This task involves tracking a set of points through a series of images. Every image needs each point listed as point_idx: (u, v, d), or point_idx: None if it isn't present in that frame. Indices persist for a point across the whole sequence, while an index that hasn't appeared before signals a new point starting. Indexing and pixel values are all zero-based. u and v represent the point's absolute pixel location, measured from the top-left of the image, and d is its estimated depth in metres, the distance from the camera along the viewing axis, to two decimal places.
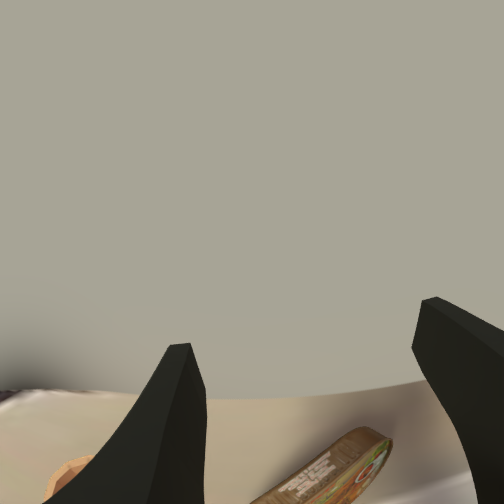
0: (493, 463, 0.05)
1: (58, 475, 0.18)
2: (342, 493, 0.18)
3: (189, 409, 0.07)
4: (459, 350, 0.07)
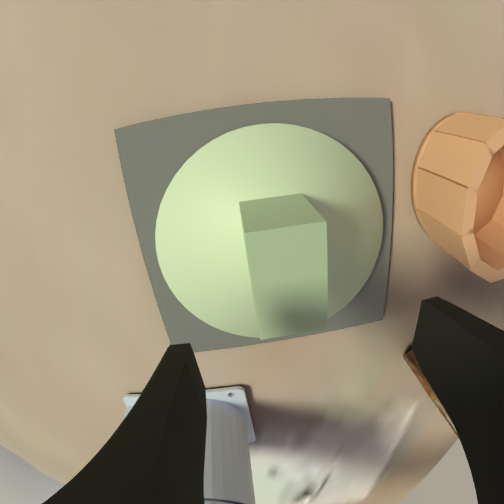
0: (493, 463, 0.05)
1: None
2: None
3: (189, 409, 0.07)
4: (459, 350, 0.07)
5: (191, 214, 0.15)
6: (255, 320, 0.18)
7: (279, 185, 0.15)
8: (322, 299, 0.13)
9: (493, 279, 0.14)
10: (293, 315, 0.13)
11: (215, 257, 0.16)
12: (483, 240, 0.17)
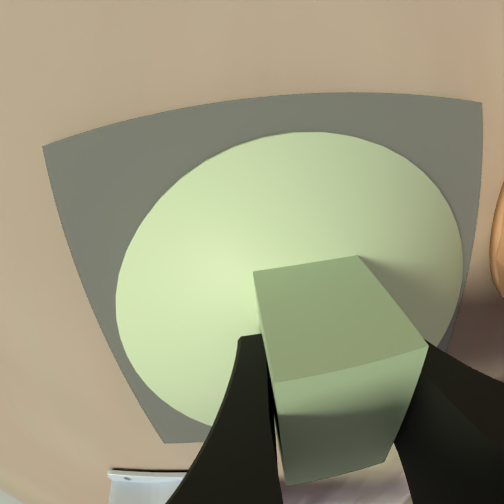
0: (430, 497, 0.05)
1: None
2: None
3: (270, 400, 0.07)
4: None
5: (171, 291, 0.09)
6: None
7: (323, 243, 0.09)
8: (388, 439, 0.07)
9: None
10: (340, 462, 0.07)
11: (213, 351, 0.10)
12: None
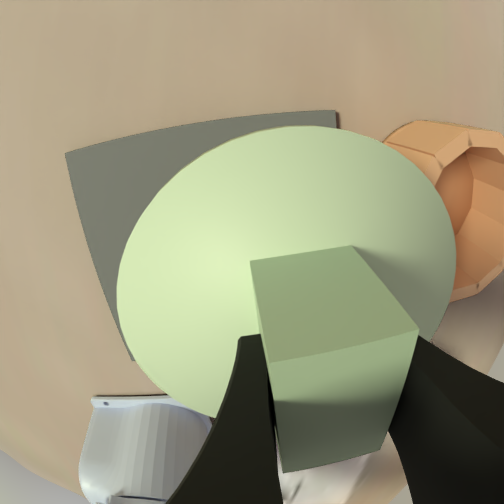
0: (430, 497, 0.05)
1: (503, 148, 0.11)
2: None
3: (270, 400, 0.07)
4: None
5: (171, 280, 0.09)
6: None
7: (318, 233, 0.09)
8: (383, 425, 0.07)
9: (450, 299, 0.14)
10: (336, 448, 0.07)
11: (211, 340, 0.10)
12: None
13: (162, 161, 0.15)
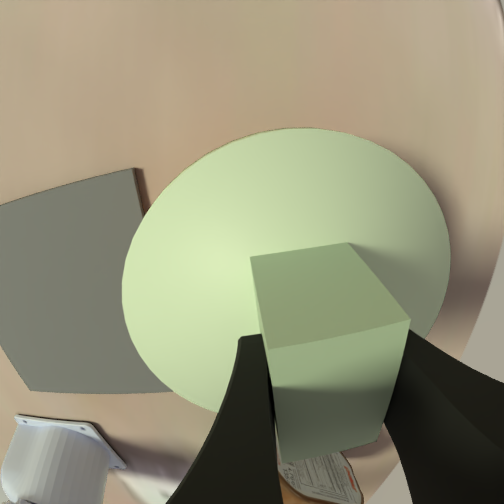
0: (429, 497, 0.05)
1: None
2: None
3: (270, 400, 0.07)
4: None
5: (174, 275, 0.09)
6: None
7: (315, 230, 0.09)
8: (378, 415, 0.07)
9: None
10: (333, 437, 0.08)
11: (213, 334, 0.11)
12: None
13: (2, 234, 0.14)
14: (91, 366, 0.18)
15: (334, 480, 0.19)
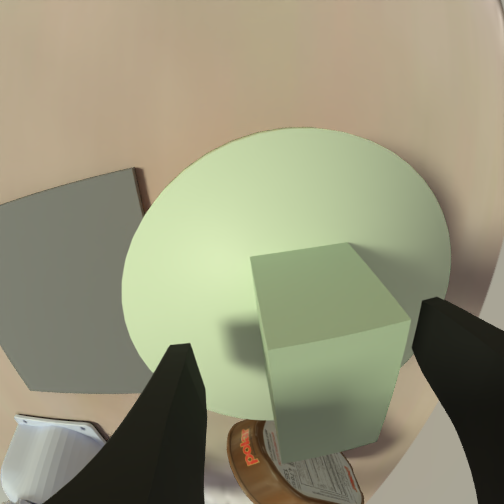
0: (493, 463, 0.05)
1: None
2: None
3: (189, 409, 0.07)
4: (459, 350, 0.07)
5: (174, 275, 0.09)
6: (269, 404, 0.12)
7: (315, 230, 0.09)
8: (379, 416, 0.07)
9: None
10: (333, 438, 0.08)
11: (213, 334, 0.10)
12: None
13: (2, 234, 0.13)
14: (91, 366, 0.18)
15: (335, 480, 0.19)
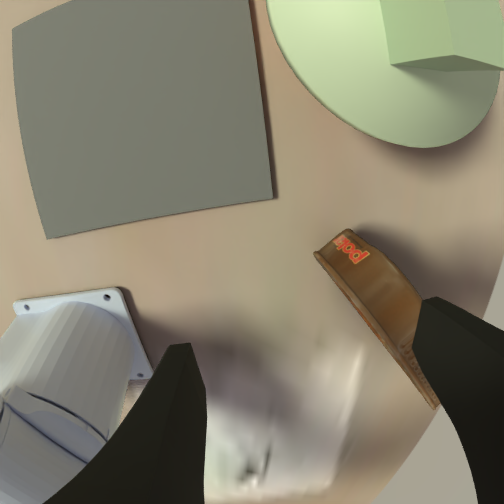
0: (493, 463, 0.05)
1: None
2: None
3: (189, 409, 0.07)
4: (459, 350, 0.07)
5: None
6: (393, 111, 0.11)
7: None
8: (501, 27, 0.06)
9: None
10: (481, 33, 0.06)
11: (346, 9, 0.09)
12: None
13: (85, 16, 0.12)
14: (147, 168, 0.16)
15: None
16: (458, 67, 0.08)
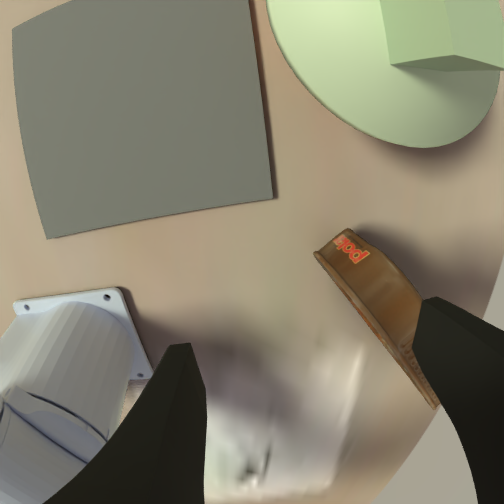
0: (493, 463, 0.05)
1: None
2: None
3: (189, 409, 0.07)
4: (459, 350, 0.07)
5: None
6: (393, 111, 0.11)
7: None
8: (501, 27, 0.06)
9: None
10: (481, 33, 0.06)
11: (346, 9, 0.09)
12: None
13: (85, 16, 0.12)
14: (147, 168, 0.16)
15: None
16: (458, 67, 0.08)
